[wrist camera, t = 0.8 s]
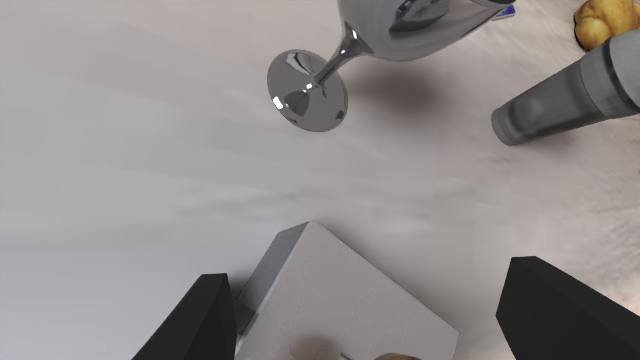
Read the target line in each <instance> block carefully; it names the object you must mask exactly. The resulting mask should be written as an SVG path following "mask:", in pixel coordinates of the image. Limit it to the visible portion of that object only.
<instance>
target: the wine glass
mask: <svg viewBox="0 0 640 360" xmlns="http://www.w3.org/2000/svg"><path fill="white" fill-rule="evenodd" d="M515 1H516V0H337V6H338V11H339V16H340V21H341V26H342V37H341V41H340V44H339V46H338V47H337V49H336V51H335V52H334V54H333V55H332V57H331V58H330V60H329V61H328V62H327V61H326V60H325V59H323V58H322V57H320V56H319V55H317V54H315V53H312V52H309V51H306V50H299V49H296V50H289V51H285V52H283V53H281V54H279V55H278V56H277V57H276V58H275V59H274V60H273V62H272V63H271V65H270V67H269V70H268V75H267V84H268V90H269V93H270V96H271V99H272V101H273V102H274V104H275V106H276V107H277V109H278V110H279V111H280V113H281V114H282V115H283V116H284V117H285V118H286V119H287V120H289V121H290V122H291V123H293V124H294V125H296V126H298V127H300V128H302V129H305V130H308V131H313V132H324V131H328V130H331V129H333V128H335V127H336V126H337V125H339V124H340V122H341V121H342V120H343V118H344V116H345V114H346V111H347V106H348V97H347V91H346V88H345V85H344V83H343V80H342V79H341V77H340V75H339V74H338V72H337V71H336V70H338V69H339V68H340V67H342V66H343V65H344V64H346V63H347V62H349V61H350V60H352V59H353V58H356V57H360V56H370V57H374V58H379V59H383V60H388V61H399V62H405V61H412V60H416V59H420V58H423V57H425V56H428V55H430V54H433V53H435V52H437V51H440V50H442V49H444V48H446V47H448V46H450V45H452V44H454V43H456V42H457V41H459V40H461V39H463V38H465V37H466V36H468V35H469V34H471V33H473V32H474V31H476V30H477V29H479V28H480V27H482V26H483V25H485V24H486V23H488V22H489V21H490V20H492V19H493V18H494V17H496V16H497V15H498V14H500V13H501V12H503V11H504V10H505V9H507V8H508V7H509V6H510V5H512V4H513V3H514V2H515Z"/></svg>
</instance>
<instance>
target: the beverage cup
mask: <svg viewBox="0 0 640 360" xmlns="http://www.w3.org/2000/svg"><path fill="white" fill-rule="evenodd" d="M639 113H640V28H639V29H634V30H630V31H627V32H624V33H621V34H619V35H617V36H612V37H609V38H607V39H606V40H605V41H604V43H602V44H600V45H598V46H597V47H595V48H594V49H592V50H591V51H590V52H588V53H587V54H585V55H584V56H583V57H582V58H581V59H579V60H578V61H576V62H574V63H573V64H571V65H569V66H567V67H566V68H564V69H562V70H561V71H559V72H557V73H556V74H554V75H552V76H551V77H549V78H547V79H545V80H544V81H542V82H540V83H539V84H537V85H535V86H534V87H532V88H530V89H528V90H527V91H525V92H523V93H522V94H520V95H518V96H517V97H515V98H513V99H512V100H510V101H508V102H507V103H505V104H504V105H503V106H501V107H500V108H498V109H496V110H495V111H493V114H492V126H493V128H494V131H495V133H496V135H497V136H498V138H499V139H500V140H501V141H502V142H503V143H505V144H506V145H509V146H511V145H515V144H518V143H523V142H529V141H532V140H536V139H539V138H543V137H547V136H550V135H554V134H557V133H561V132H565V131H568V130H572V129H576V128H579V127H583V126H586V125H590V124H594V123H597V122H601V121H605V120H608V119H616V118H622V117H627V116H632V115H636V114H639Z"/></svg>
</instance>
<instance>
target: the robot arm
mask: <svg viewBox="0 0 640 360" xmlns="http://www.w3.org/2000/svg"><path fill="white" fill-rule="evenodd" d="M496 318H497V320H498V323H499V325H500V327H501V329H502V332H503V334H504V336H505V338H506V340H507V342H508V345H509V347H510V349H511V351H512V353H513V355H514V357H515V358H516V360H640V316H638V315H636V314H635V313H633V312H631V311H629V310H628V309H626V308H624V307H623V306H621V305H619V304H617V303H616V302H614V301H612V300H611V299H609V298H607V297H606V296H604V295H602V294H601V293H599V292H597V291H595V290H594V289H592V288H590V287H589V286H587V285H585V284H584V283H582V282H580V281H579V280H577V279H575V278H574V277H572V276H570V275H568V274H567V273H565V272H563V271H562V270H560V269H558V268H556V267H555V266H553V265H551V264H549V263H547V262H545V261H544V260H542V259H540V258H538V257H536V256H527V257H512V258H511V262H510V265H509V269H508V272H507V276H506V280H505V283H504V287H503V290H502V294H501V298H500V301H499V305H498V309H497V312H496ZM236 340H237V327H236V321H235V316H234V310H233V305H232V299H231V293H230V288H229V282H228V277H227V273H220V274H202V275H201V276H200V277H199V278H198V279H197V280H196V282H195V283H194V284H193V286H192V287H191V288H190V289H189V291H188V292H187V293H186V294H185V296H184V297H183V298H182V300H181V301H180V302H179V303H178V305H177V306H176V307H175V308H174V310H173V311H172V312H171V313H170V315H169V316H168V317H167V318H166V320H165V321H164V322H163V323H162V324H161V326H160V327H159V328H158V329H157V330H156V332H155V333H154V334H153V335H152V336H151V337H150V339H149V340H148V341H147V342H146V343H145V345H144V346H143V347H142V348H141V349H140V350H139V352H138V353H137V354H136V355H135V356H134V357H133V358H132V360H234V358H235V349H236Z"/></svg>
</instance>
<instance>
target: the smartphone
mask: <svg viewBox="0 0 640 360" xmlns="http://www.w3.org/2000/svg"><path fill="white" fill-rule="evenodd" d="M515 13H516V11H515V9H514V7H513V5H510V6H509V7H508V8H507V9H505V10H504V11H503V12H501V13H500V14H498V15H497V16H496V17H494V18H493V19H492V21H493V20H497V19H502V18H507V17H511V16H513V15H515Z"/></svg>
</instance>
